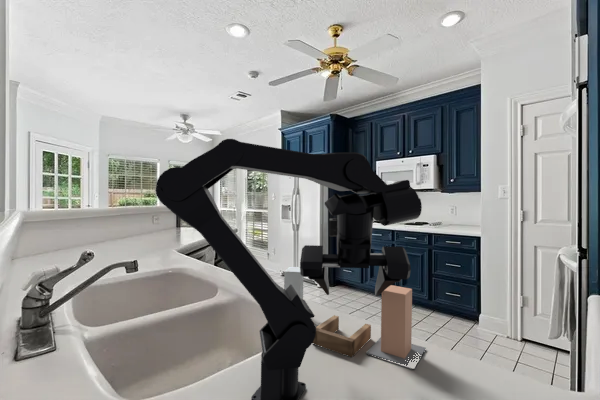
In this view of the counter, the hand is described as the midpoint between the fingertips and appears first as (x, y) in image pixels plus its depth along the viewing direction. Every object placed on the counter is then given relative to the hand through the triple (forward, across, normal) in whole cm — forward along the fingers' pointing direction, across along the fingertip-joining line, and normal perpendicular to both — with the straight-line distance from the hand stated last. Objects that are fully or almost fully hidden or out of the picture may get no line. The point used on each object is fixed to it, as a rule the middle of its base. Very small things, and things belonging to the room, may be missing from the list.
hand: (351, 293), depth 57 cm
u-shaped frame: (+13, +2, +1) cm, 13 cm away
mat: (+12, -9, +4) cm, 15 cm away
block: (+11, -9, +4) cm, 15 cm away
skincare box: (+20, +14, -10) cm, 26 cm away
